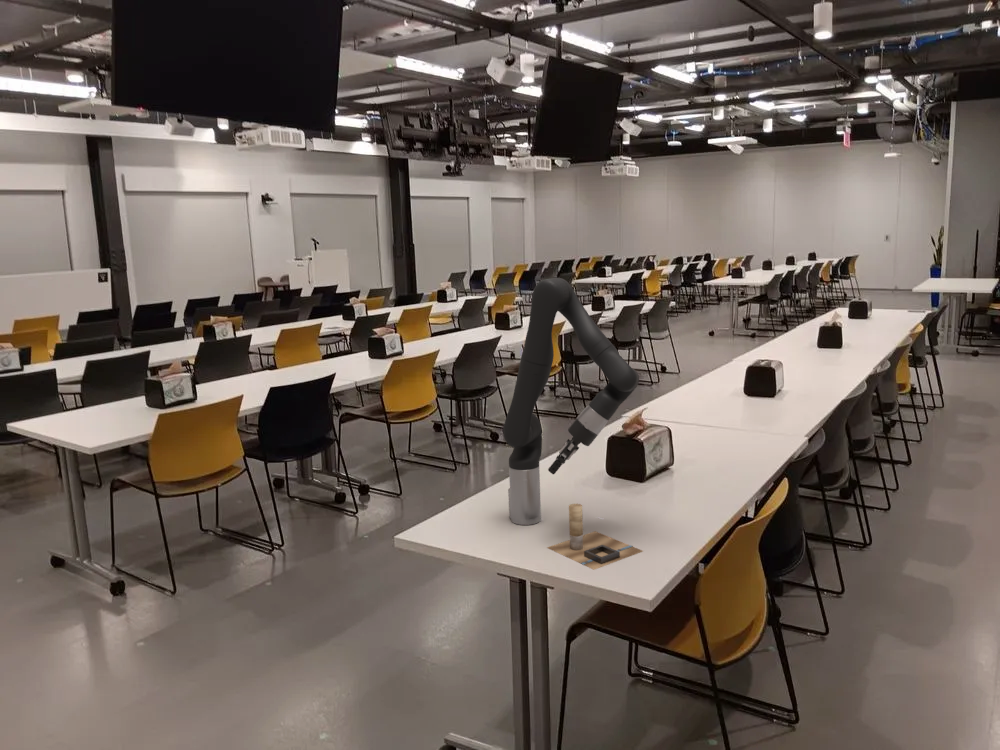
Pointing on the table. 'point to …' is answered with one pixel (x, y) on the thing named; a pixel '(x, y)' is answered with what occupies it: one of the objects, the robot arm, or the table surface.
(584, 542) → the board
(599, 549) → the pilot collar
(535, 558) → the table surface
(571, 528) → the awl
